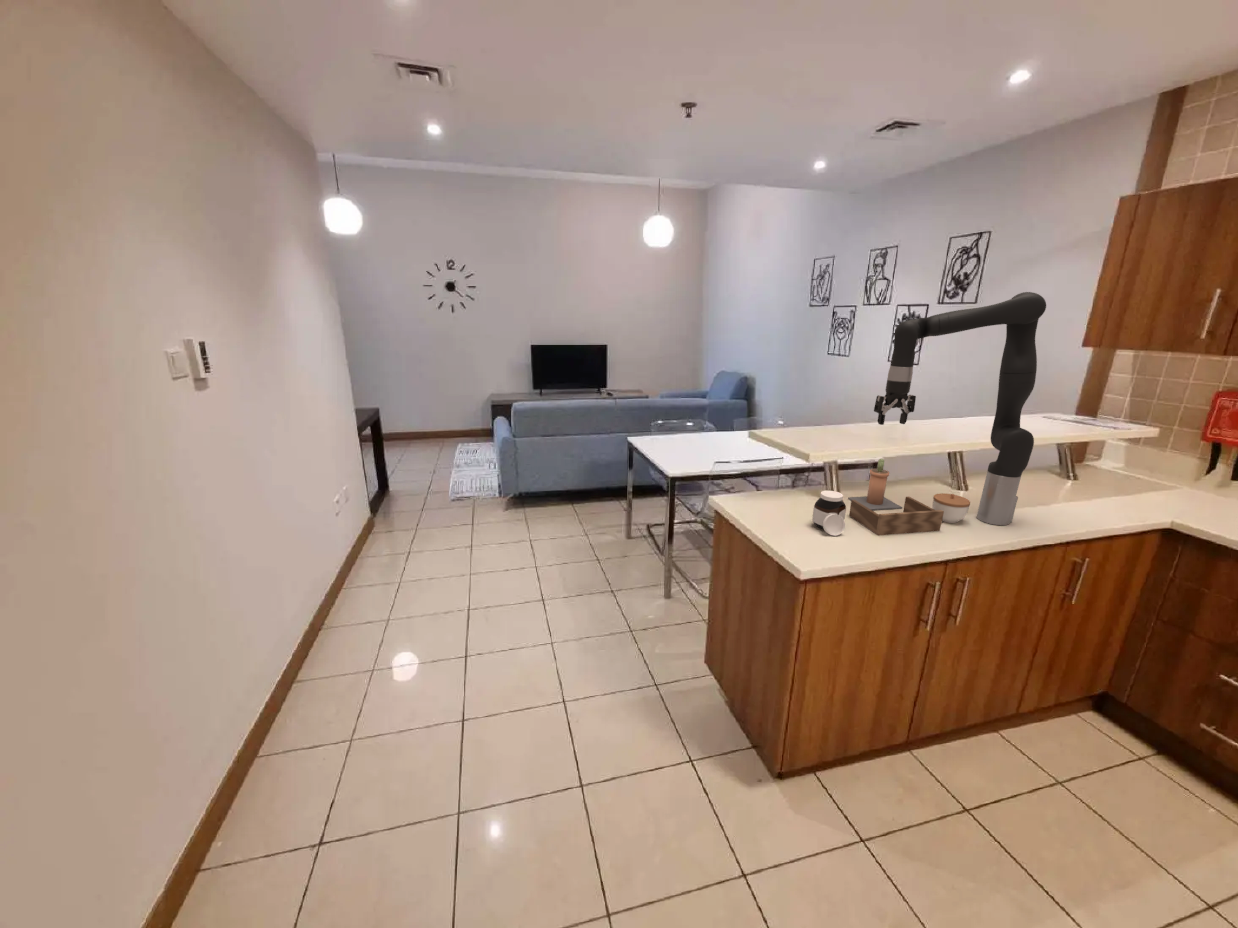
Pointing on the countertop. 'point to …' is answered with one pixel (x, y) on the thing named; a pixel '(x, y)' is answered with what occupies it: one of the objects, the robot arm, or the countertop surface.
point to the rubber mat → (885, 506)
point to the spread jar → (830, 512)
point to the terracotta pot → (877, 484)
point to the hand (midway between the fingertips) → (891, 424)
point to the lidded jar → (951, 506)
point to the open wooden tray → (898, 518)
